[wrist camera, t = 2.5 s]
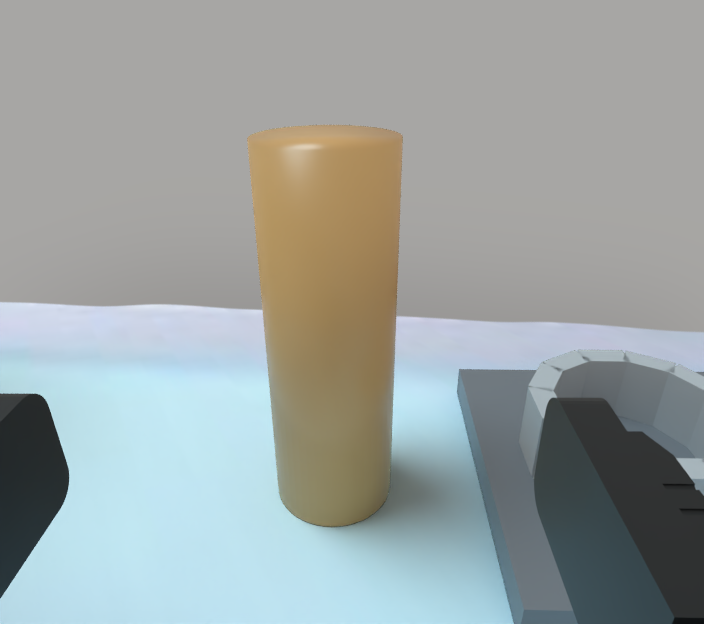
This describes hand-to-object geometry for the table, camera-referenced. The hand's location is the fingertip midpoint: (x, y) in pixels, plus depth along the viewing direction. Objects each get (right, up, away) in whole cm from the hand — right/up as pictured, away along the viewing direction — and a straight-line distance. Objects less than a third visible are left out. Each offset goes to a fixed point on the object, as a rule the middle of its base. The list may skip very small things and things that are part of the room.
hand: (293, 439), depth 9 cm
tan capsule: (0, -6, +16) cm, 17 cm away
